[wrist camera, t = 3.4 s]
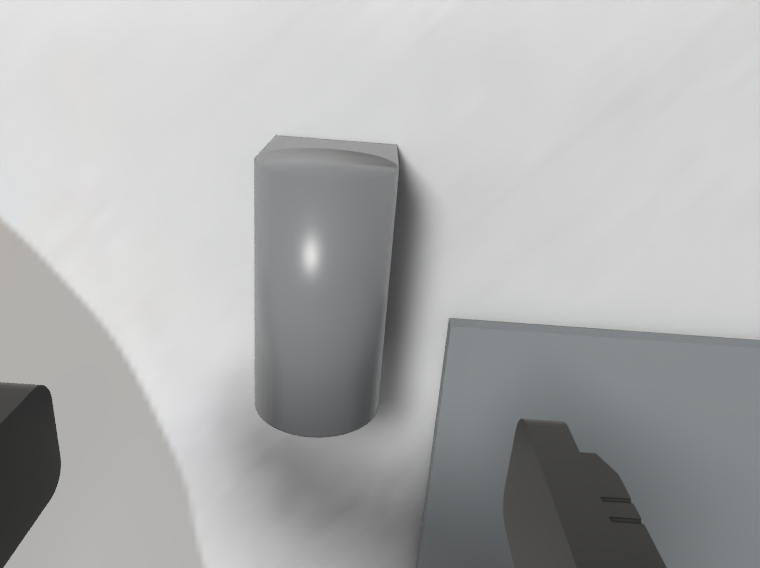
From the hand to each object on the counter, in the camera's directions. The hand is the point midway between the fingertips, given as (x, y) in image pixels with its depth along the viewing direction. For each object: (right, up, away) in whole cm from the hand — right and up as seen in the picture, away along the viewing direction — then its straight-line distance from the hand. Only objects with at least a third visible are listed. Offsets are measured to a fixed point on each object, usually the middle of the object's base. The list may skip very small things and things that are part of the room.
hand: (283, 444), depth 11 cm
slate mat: (+10, -5, +13) cm, 17 cm away
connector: (0, +4, +9) cm, 10 cm away
